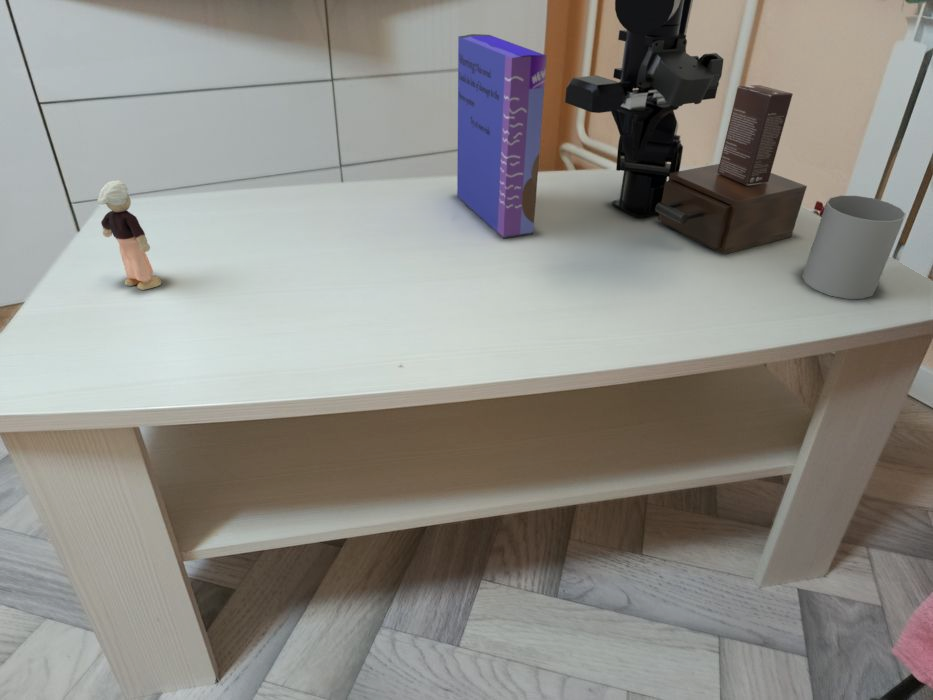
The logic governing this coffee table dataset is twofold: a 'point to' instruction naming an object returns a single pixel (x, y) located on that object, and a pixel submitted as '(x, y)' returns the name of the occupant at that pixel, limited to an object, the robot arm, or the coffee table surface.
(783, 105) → the box
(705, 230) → the drawer
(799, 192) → the cabinet
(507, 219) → the cereal box
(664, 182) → the robot arm
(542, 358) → the coffee table surface
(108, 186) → the grandmother figurine
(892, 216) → the cup
